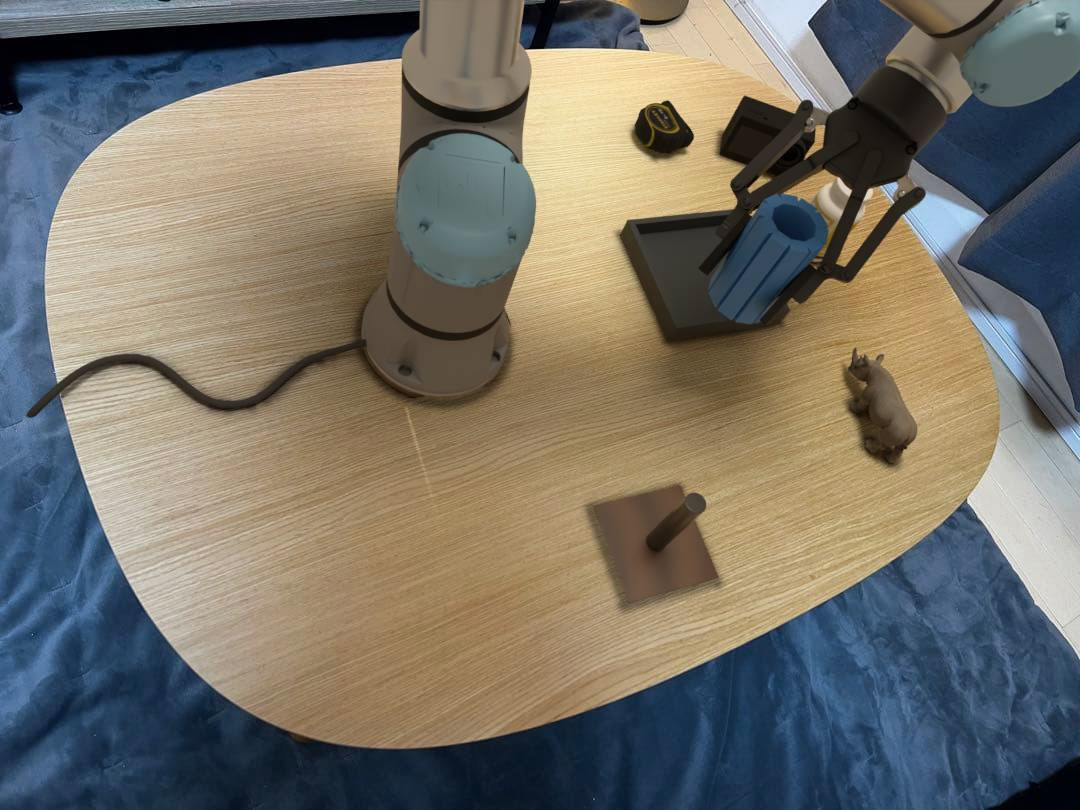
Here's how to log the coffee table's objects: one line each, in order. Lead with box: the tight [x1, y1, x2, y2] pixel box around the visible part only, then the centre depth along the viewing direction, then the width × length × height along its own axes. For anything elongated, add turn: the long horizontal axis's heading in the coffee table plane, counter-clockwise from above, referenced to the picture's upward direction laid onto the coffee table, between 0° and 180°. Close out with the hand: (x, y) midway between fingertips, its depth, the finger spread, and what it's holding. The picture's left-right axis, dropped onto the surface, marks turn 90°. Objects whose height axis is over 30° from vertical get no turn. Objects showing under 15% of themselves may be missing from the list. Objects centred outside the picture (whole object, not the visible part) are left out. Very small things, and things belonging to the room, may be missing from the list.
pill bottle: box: [810, 177, 874, 263], centre depth 105 cm, size 6×6×11 cm
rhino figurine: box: [847, 346, 918, 464], centre depth 96 cm, size 4×14×6 cm, turn 12°
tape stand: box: [592, 485, 720, 604], centre depth 79 cm, size 10×10×11 cm
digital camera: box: [719, 95, 817, 176], centre depth 113 cm, size 10×5×7 cm, turn 77°
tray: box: [619, 208, 792, 342], centre depth 101 cm, size 16×16×3 cm
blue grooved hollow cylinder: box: [708, 193, 829, 324], centre depth 78 cm, size 6×7×11 cm
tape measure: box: [634, 99, 695, 155], centre depth 111 cm, size 7×7×4 cm
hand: (732, 297), depth 78 cm, fingers closed on blue grooved hollow cylinder, 7 cm apart
